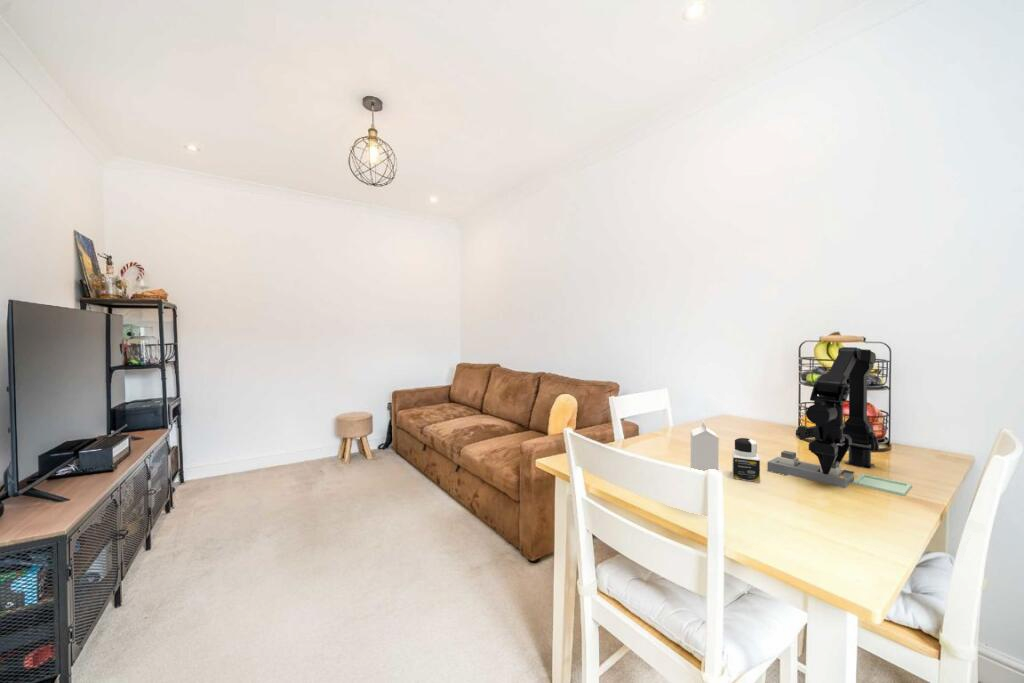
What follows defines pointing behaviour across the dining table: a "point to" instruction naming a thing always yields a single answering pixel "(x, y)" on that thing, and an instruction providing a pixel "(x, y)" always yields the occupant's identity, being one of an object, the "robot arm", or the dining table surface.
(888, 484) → the parts tray
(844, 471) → the grey socket board
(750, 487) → the dining table surface
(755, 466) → the medicine bottle
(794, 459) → the twin plug
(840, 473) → the plug
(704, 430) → the milk
